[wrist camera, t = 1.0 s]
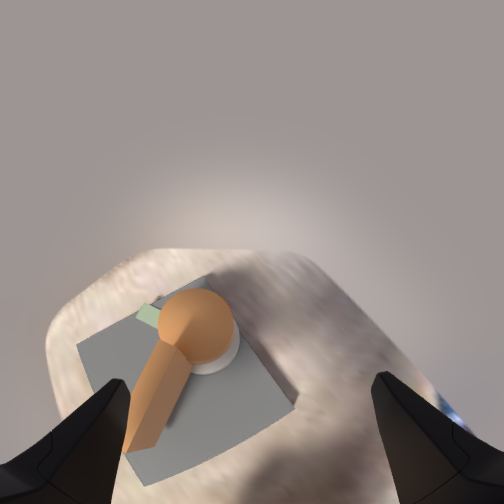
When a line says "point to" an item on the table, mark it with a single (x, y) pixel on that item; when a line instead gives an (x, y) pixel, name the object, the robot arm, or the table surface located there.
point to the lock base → (188, 393)
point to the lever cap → (176, 360)
